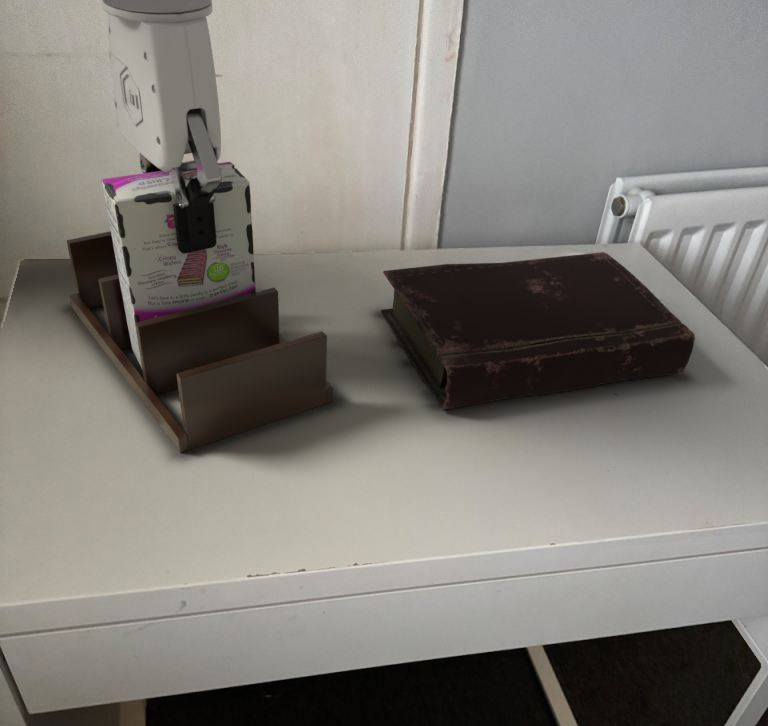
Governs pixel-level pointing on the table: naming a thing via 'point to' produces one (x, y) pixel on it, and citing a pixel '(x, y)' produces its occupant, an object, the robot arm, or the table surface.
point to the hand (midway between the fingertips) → (182, 232)
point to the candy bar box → (160, 251)
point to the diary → (531, 327)
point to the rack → (203, 354)
